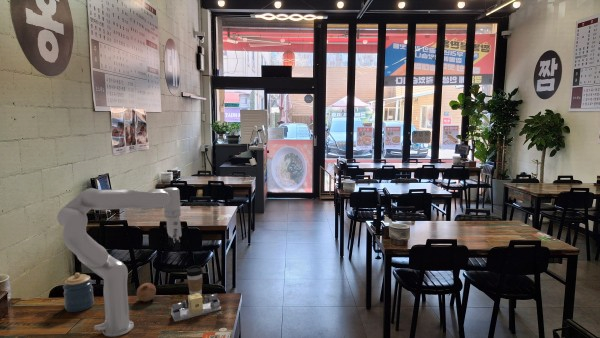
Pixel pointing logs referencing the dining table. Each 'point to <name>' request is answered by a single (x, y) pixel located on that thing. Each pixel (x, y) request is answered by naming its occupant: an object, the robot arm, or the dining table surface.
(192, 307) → the tan wooden cube
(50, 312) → the dining table surface
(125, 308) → the robot arm
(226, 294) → the dining table surface
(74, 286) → the canister
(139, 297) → the onion
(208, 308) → the shaft bench
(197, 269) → the coffee cup
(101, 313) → the dining table surface
